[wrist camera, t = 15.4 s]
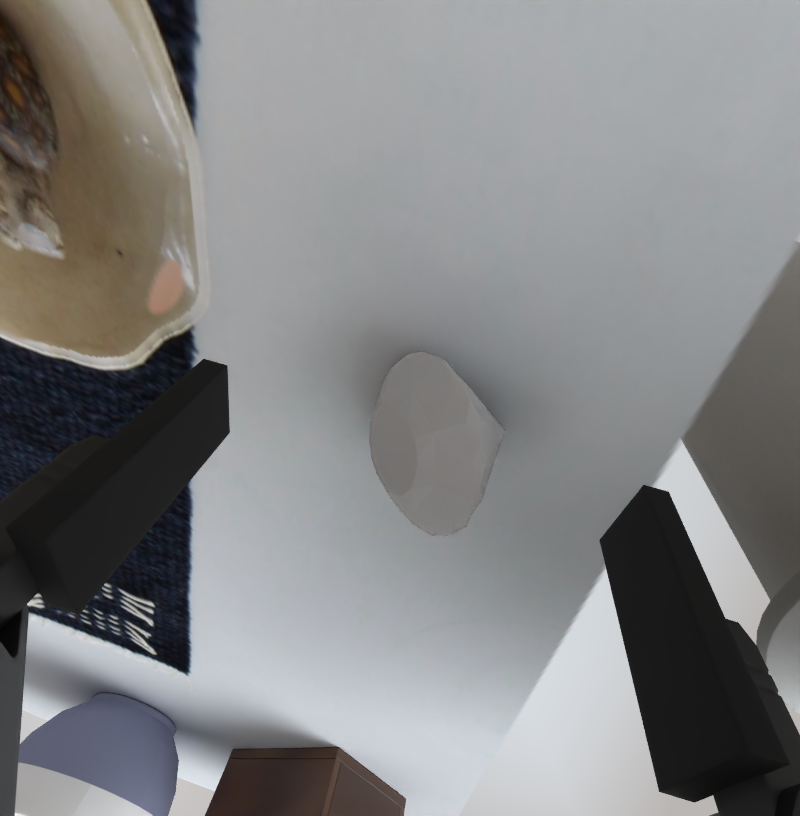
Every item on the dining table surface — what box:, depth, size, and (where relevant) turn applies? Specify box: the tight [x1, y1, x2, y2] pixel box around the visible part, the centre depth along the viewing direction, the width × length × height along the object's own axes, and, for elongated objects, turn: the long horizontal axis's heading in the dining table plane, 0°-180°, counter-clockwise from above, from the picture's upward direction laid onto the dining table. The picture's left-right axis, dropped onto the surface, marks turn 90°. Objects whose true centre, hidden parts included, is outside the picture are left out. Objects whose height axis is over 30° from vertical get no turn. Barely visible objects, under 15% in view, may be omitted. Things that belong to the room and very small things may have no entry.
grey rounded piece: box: [370, 351, 505, 536], centre depth 15 cm, size 6×6×5 cm
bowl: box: [15, 693, 179, 816], centre depth 41 cm, size 16×16×10 cm
